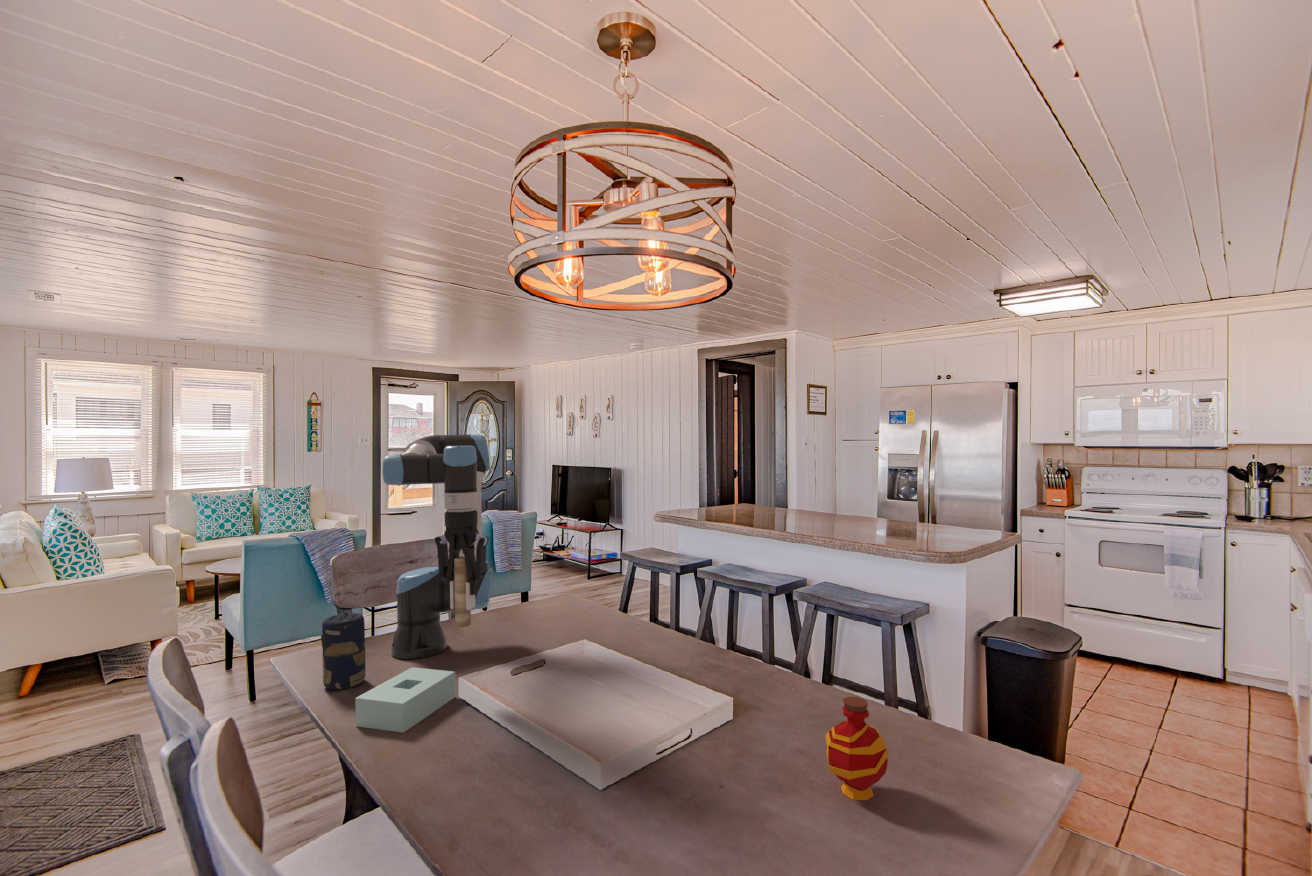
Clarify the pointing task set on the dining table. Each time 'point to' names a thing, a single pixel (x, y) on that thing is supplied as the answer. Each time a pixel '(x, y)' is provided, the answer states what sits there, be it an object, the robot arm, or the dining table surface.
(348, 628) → the canister
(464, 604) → the peg
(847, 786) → the potion bottle
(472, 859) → the dining table surface
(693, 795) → the dining table surface
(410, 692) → the socket block
